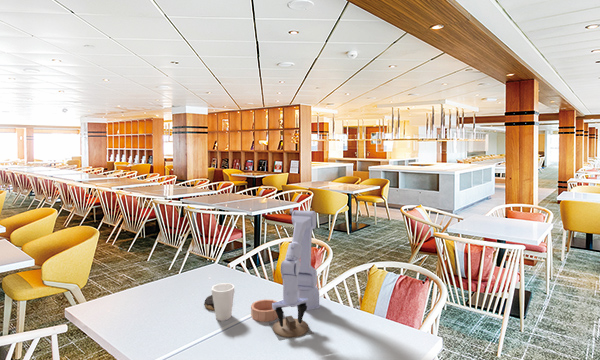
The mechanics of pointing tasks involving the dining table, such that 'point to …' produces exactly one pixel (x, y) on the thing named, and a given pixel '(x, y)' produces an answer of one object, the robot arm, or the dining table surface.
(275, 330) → the lid
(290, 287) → the robot arm
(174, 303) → the dining table surface
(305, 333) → the mat
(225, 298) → the foam cup
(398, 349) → the dining table surface
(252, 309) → the bowl
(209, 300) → the donut
